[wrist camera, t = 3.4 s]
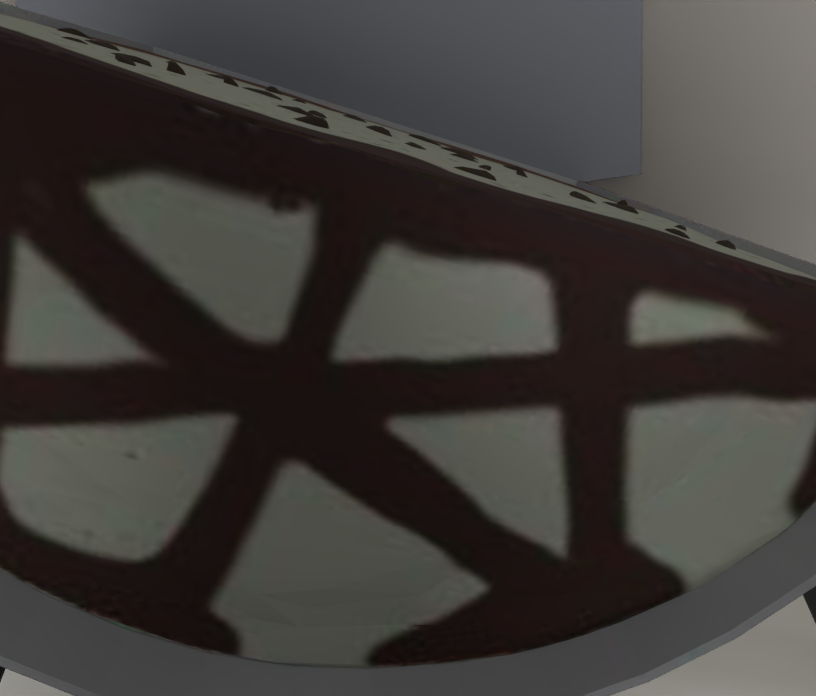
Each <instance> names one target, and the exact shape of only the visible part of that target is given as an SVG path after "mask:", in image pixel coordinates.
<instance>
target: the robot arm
mask: <svg viewBox="0 0 816 696" xmlns="http://www.w3.org/2000/svg"><path fill="white" fill-rule="evenodd" d="M803 596H804V599H805V601H806V603H807V605H808V608H809V610H810V612H811V614H812V617H813V619H814V621H815V623H816V586H815V587H813V588H812V589H810V590H809V591H807V592H806V593H804V594H803ZM5 669H6V668H4V667H1V666H0V682H1V679H2V676H3V674H4V671H5Z"/></svg>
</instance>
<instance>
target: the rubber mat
mask: <svg viewBox="0 0 816 696" xmlns="http://www.w3.org/2000/svg"><path fill="white" fill-rule="evenodd" d="M15 2H16V5H17V7H19V8H22V9H26V10H29V11H33V12H36V13H40V14H43V15H46V16H50V17H53V18H57V19H60V20H64V21H67V22H71V23H74V24H78V25H81V26H85V27H88V28H92V29H95V30H99V31H102V32H106V33H109V34H113V35H116V36H120V37H123V38H127V39H130V40H134V41H137V42H141V43H144V44H147V45H151V46H154V47H157V48H160V49H163V50H166V51H170V52H173V53H176V54H179V55H182V56H185V57H188V58H192V59H195V60H198V61H201V62H204V63H207V64H211V65H214V66H217V67H220V68H223V69H226V70H229V71H233V72H236V73H239V74H242V75H245V76H248V77H252V78H255V79H258V80H261V81H264V82H267V83H270V84H274V85H277V86H280V87H283V88H286V89H289V90H293V91H296V92H299V93H302V94H305V95H308V96H311V97H315V98H318V99H321V100H324V101H327V102H330V103H334V104H337V105H340V106H343V107H346V108H349V109H352V110H356V111H359V112H362V113H365V114H368V115H371V116H375V117H378V118H381V119H384V120H387V121H390V122H393V123H397V124H400V125H403V126H406V127H409V128H412V129H416V130H419V131H422V132H425V133H428V134H431V135H434V136H438V137H441V138H444V139H447V140H450V141H453V142H457V143H460V144H463V145H466V146H469V147H472V148H475V149H479V150H482V151H485V152H488V153H491V154H494V155H498V156H501V157H504V158H507V159H510V160H513V161H516V162H520V163H523V164H526V165H529V166H532V167H535V168H539V169H542V170H545V171H548V172H551V173H554V174H557V175H561V176H564V177H567V178H570V179H573V180H576V181H580V182H585V181H592V180H600V179H607V178H615V177H622V176H630V175H638V174H641V134H642V0H15Z"/></svg>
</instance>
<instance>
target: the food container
mask: <svg viewBox="0 0 816 696" xmlns="http://www.w3.org/2000/svg"><path fill="white" fill-rule="evenodd" d="M815 586H816V265H815V264H812V263H809V262H806V261H803V260H801V259H798V258H795V257H792V256H789V255H787V254H784V253H781V252H778V251H775V250H772V249H770V248H767V247H764V246H761V245H758V244H755V243H753V242H750V241H747V240H744V239H741V238H738V237H736V236H733V235H730V234H727V233H724V232H721V231H719V230H716V229H713V228H710V227H707V226H704V225H702V224H699V223H696V222H693V221H690V220H688V219H685V218H682V217H679V216H676V215H673V214H671V213H668V212H665V211H662V210H659V209H656V208H654V207H651V206H648V205H645V204H642V203H639V202H637V201H634V200H631V199H628V198H625V197H622V196H620V195H617V194H614V193H611V192H608V191H605V190H603V189H600V188H597V187H594V186H591V185H589V184H586V183H583V182H580V181H576V180H573V179H570V178H567V177H564V176H561V175H557V174H554V173H551V172H548V171H545V170H542V169H539V168H535V167H532V166H529V165H526V164H523V163H520V162H516V161H513V160H510V159H507V158H504V157H501V156H498V155H494V154H491V153H488V152H485V151H482V150H479V149H475V148H472V147H469V146H466V145H463V144H460V143H457V142H453V141H450V140H447V139H444V138H441V137H438V136H434V135H431V134H428V133H425V132H422V131H419V130H416V129H412V128H409V127H406V126H403V125H400V124H397V123H393V122H390V121H387V120H384V119H381V118H378V117H375V116H371V115H368V114H365V113H362V112H359V111H356V110H352V109H349V108H346V107H343V106H340V105H337V104H334V103H330V102H327V101H324V100H321V99H318V98H315V97H311V96H308V95H305V94H302V93H299V92H296V91H293V90H289V89H286V88H283V87H280V86H277V85H274V84H270V83H267V82H264V81H261V80H258V79H255V78H252V77H248V76H245V75H242V74H239V73H236V72H233V71H229V70H226V69H223V68H220V67H217V66H214V65H211V64H207V63H204V62H201V61H198V60H195V59H192V58H188V57H185V56H182V55H179V54H176V53H173V52H170V51H166V50H163V49H160V48H157V47H154V46H151V45H147V44H144V43H141V42H137V41H134V40H130V39H127V38H123V37H120V36H116V35H113V34H109V33H106V32H102V31H99V30H95V29H92V28H88V27H85V26H81V25H78V24H74V23H71V22H67V21H64V20H60V19H57V18H53V17H50V16H46V15H43V14H40V13H36V12H33V11H29V10H26V9H22V8H19V7H15V6H12V5H8V4H5V3H1V2H0V666H1V667H4V668H6V669H9V670H11V671H14V672H16V673H19V674H21V675H24V676H26V677H29V678H32V679H34V680H37V681H39V682H42V683H44V684H47V685H49V686H52V687H54V688H57V689H59V690H62V691H64V692H67V693H69V694H72V695H74V696H609V695H612V694H615V693H618V692H621V691H624V690H627V689H629V688H632V687H635V686H638V685H641V684H644V683H646V682H649V681H651V680H653V679H655V678H657V677H659V676H661V675H663V674H665V673H667V672H669V671H671V670H673V669H675V668H677V667H679V666H681V665H683V664H685V663H687V662H689V661H691V660H693V659H695V658H697V657H700V656H702V655H704V654H706V653H708V652H710V651H712V650H714V649H716V648H718V647H720V646H722V645H724V644H726V643H728V642H730V641H732V640H734V639H736V638H737V637H739V636H740V635H742V634H743V633H745V632H747V631H748V630H750V629H751V628H753V627H754V626H756V625H757V624H759V623H760V622H762V621H763V620H765V619H766V618H768V617H769V616H771V615H772V614H774V613H775V612H777V611H778V610H780V609H781V608H783V607H785V606H786V605H788V604H789V603H791V602H792V601H794V600H795V599H797V598H798V597H800V596H801V595H803V594H804V593H806V592H807V591H809V590H810V589H812V588H813V587H815Z"/></svg>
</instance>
